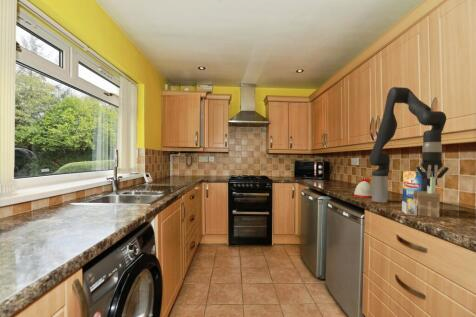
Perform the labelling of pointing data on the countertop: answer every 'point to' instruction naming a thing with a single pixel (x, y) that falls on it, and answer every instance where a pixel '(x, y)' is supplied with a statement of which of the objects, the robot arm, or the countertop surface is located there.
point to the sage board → (431, 185)
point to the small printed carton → (412, 208)
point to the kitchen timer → (363, 189)
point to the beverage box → (412, 185)
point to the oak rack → (426, 203)
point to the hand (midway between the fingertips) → (431, 186)
